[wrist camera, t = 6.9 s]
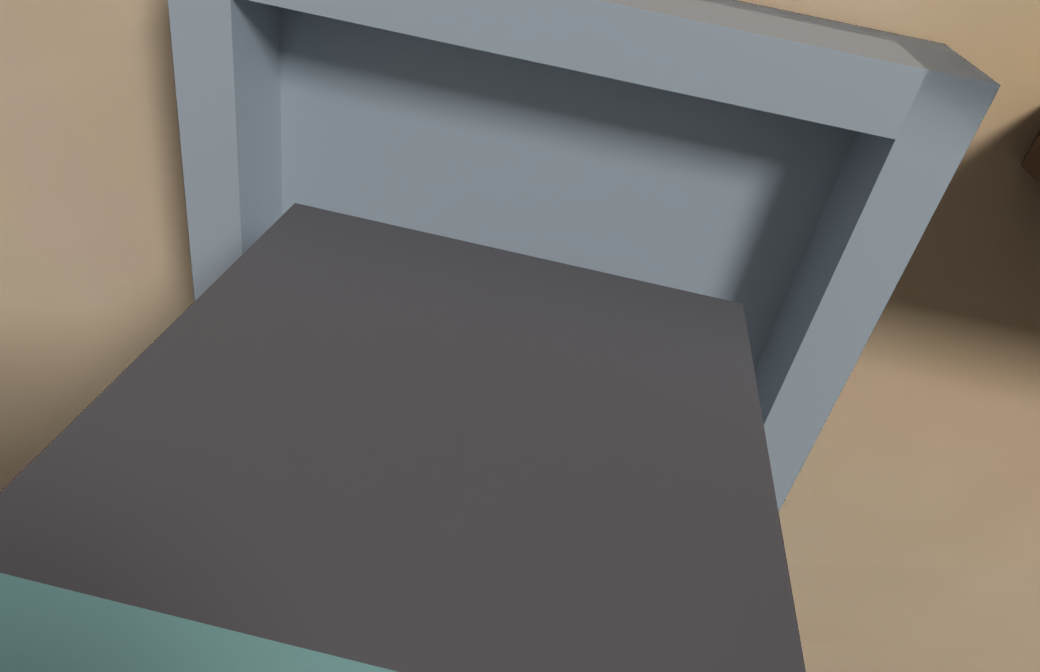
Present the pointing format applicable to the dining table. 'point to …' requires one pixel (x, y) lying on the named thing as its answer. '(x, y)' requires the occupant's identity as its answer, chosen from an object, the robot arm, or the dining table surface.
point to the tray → (594, 151)
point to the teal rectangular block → (409, 477)
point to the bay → (1033, 159)
